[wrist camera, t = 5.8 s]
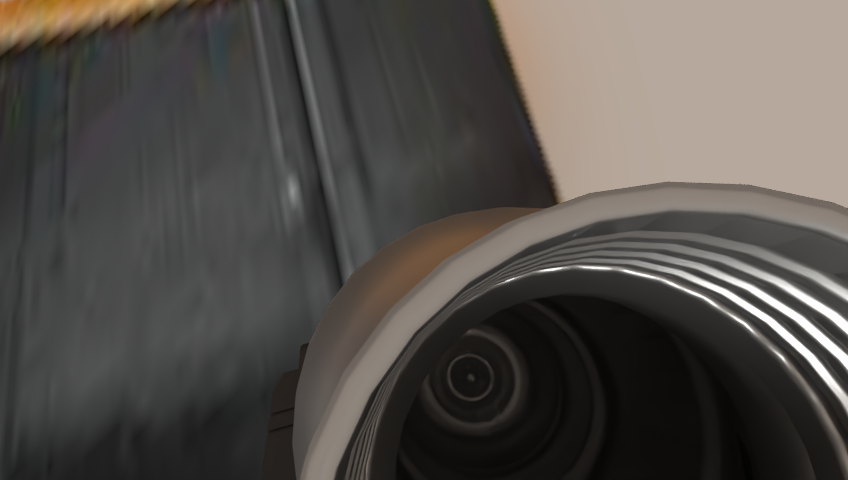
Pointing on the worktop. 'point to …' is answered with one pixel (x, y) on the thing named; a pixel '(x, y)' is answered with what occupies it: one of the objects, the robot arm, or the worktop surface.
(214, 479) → the worktop surface
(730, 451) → the silver bottle
